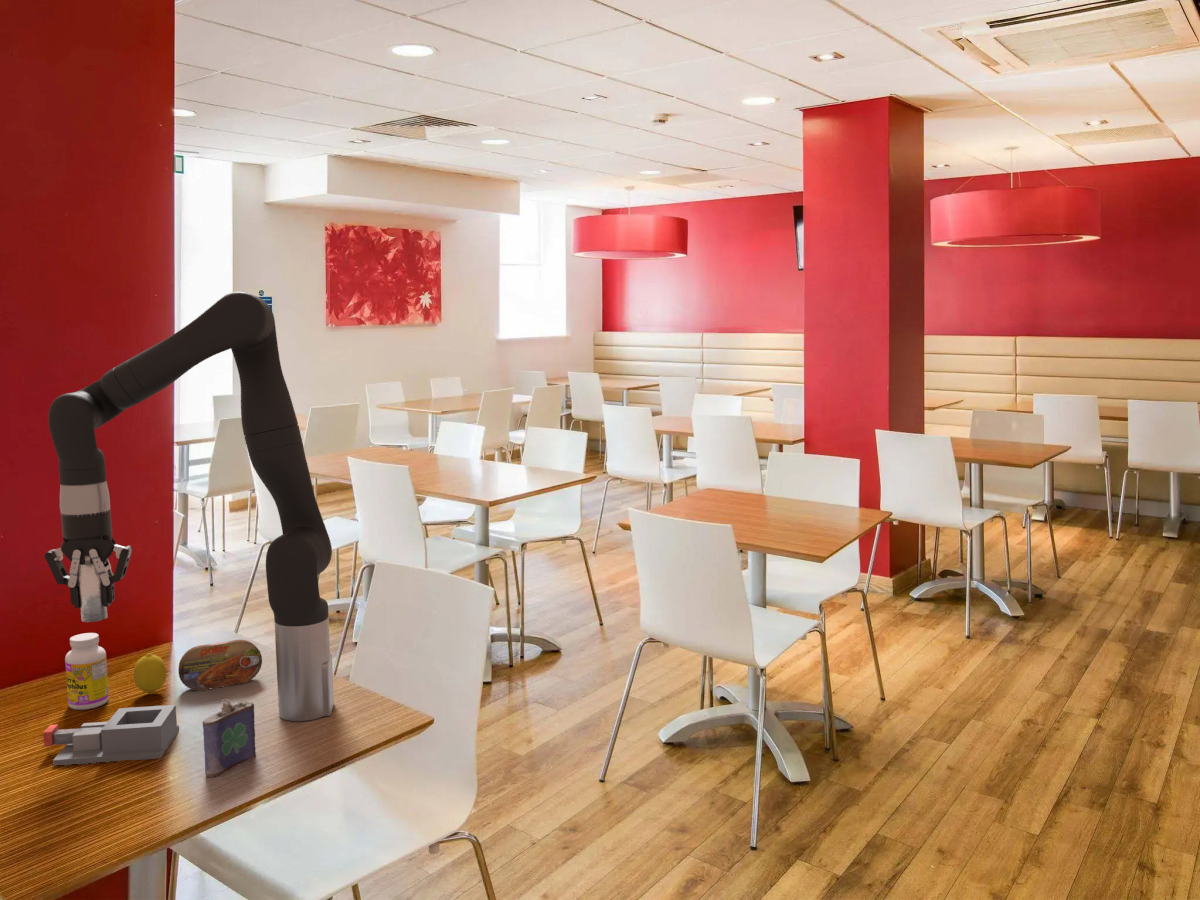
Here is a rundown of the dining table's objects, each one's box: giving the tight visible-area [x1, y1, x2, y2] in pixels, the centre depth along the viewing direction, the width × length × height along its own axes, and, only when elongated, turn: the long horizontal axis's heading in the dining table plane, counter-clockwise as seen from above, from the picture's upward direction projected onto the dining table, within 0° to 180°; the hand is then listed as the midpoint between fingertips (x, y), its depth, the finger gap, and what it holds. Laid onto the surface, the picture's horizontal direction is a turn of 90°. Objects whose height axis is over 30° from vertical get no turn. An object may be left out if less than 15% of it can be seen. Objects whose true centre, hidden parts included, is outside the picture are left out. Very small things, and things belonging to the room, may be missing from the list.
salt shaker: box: [78, 555, 108, 623], centre depth 166 cm, size 4×4×12 cm
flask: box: [202, 698, 257, 778], centre depth 152 cm, size 9×3×11 cm, turn 151°
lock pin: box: [42, 724, 103, 747], centre depth 157 cm, size 9×3×2 cm, turn 99°
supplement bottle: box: [64, 632, 110, 711], centre depth 177 cm, size 7×7×13 cm
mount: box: [52, 704, 180, 767], centre depth 159 cm, size 16×11×5 cm
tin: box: [178, 639, 263, 692], centre depth 186 cm, size 15×3×8 cm, turn 117°
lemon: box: [133, 652, 167, 695], centre depth 182 cm, size 6×6×8 cm
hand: (93, 605), depth 167 cm, fingers closed on salt shaker, 4 cm apart
